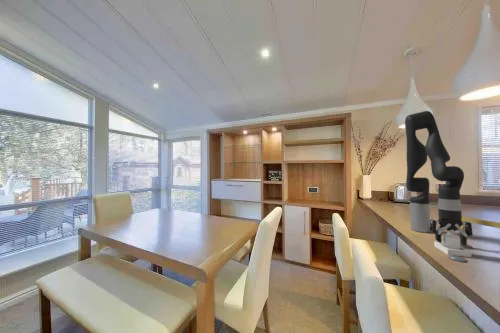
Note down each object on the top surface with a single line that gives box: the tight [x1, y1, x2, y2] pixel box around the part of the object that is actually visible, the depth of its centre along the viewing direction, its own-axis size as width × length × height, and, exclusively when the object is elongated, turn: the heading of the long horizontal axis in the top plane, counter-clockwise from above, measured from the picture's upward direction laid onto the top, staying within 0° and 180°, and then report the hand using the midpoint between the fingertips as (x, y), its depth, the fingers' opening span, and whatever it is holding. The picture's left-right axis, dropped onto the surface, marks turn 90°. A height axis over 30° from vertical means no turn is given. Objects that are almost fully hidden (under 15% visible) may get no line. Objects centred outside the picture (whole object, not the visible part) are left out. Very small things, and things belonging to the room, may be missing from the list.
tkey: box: [461, 215, 500, 245], centre depth 86 cm, size 18×2×14 cm, turn 11°
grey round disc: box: [448, 255, 467, 263], centre depth 80 cm, size 5×5×1 cm
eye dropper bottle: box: [442, 230, 461, 250], centre depth 88 cm, size 4×6×12 cm
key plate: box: [460, 243, 474, 250], centre depth 92 cm, size 4×4×1 cm
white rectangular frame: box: [433, 240, 472, 258], centre depth 87 cm, size 10×8×2 cm
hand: (450, 243), depth 87 cm, fingers open, 8 cm apart
